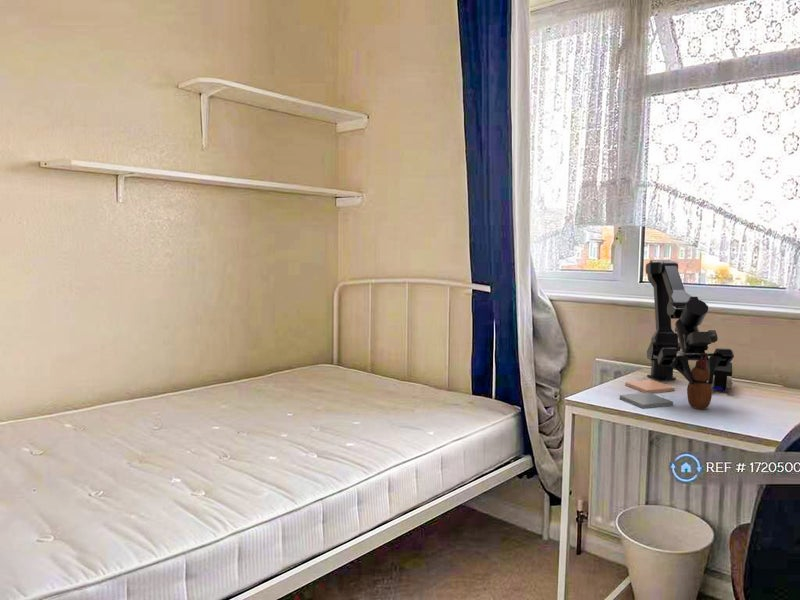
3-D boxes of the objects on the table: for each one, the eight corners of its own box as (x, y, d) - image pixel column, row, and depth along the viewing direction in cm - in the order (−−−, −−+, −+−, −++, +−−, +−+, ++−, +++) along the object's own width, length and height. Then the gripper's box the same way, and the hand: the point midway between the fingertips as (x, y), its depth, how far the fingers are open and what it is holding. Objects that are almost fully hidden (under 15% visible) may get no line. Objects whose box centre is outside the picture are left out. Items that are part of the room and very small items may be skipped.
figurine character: (732, 400, 177) (731, 383, 190) (734, 375, 175) (732, 359, 189) (707, 397, 180) (707, 380, 193) (708, 373, 178) (708, 357, 192)
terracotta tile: (625, 385, 189) (625, 382, 189) (651, 382, 192) (652, 379, 192) (646, 393, 180) (646, 390, 179) (674, 390, 182) (674, 387, 182)
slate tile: (619, 398, 174) (619, 395, 174) (648, 395, 177) (648, 392, 177) (642, 408, 165) (642, 404, 165) (672, 405, 168) (673, 401, 168)
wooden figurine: (713, 411, 162) (716, 356, 160) (690, 410, 163) (693, 356, 161) (706, 404, 168) (709, 351, 166) (684, 403, 169) (686, 350, 168)
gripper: (662, 319, 168) (674, 367, 158) (733, 319, 165) (749, 368, 156) (652, 341, 176) (663, 388, 167) (719, 342, 174) (734, 390, 165)
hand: (701, 383), depth 163 cm, fingers closed on wooden figurine, 4 cm apart
